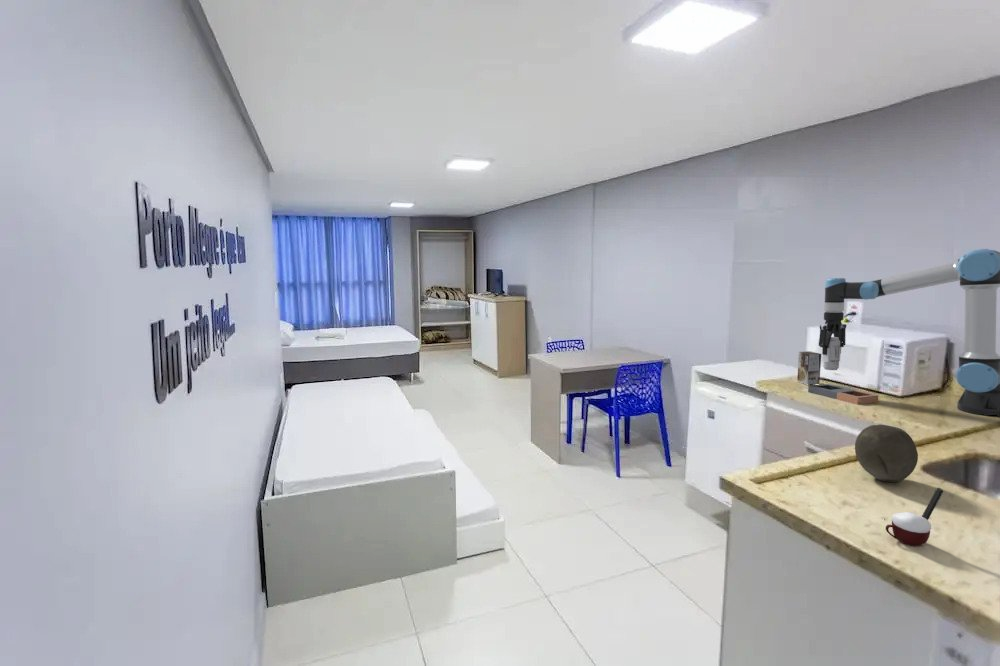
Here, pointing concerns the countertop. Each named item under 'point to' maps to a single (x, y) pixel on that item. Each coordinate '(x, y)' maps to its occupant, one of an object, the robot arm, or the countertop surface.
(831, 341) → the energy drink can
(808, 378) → the coffee box
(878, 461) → the dark grey rounded lump
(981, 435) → the countertop surface
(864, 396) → the shallow tray
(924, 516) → the cocoa
